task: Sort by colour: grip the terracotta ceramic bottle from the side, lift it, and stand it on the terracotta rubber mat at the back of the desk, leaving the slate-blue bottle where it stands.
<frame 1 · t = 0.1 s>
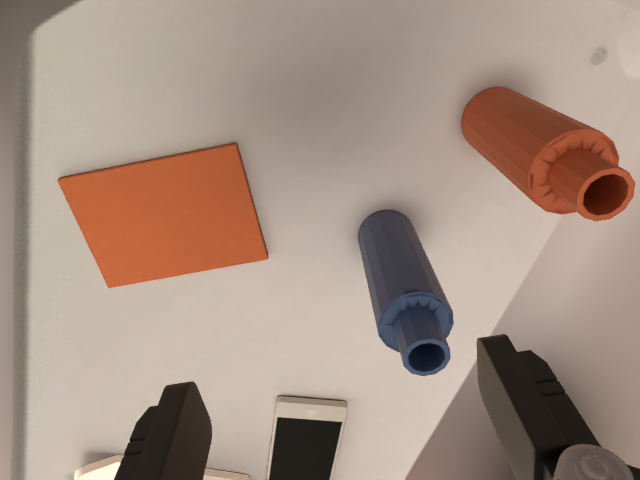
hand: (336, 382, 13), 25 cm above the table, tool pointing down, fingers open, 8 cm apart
terracotta bottle: (492, 119, 35), on the table
smartphone: (303, 449, 51), on the table
blue bottle: (385, 235, 39), on the table
terracotta mat: (169, 218, 38), on the table
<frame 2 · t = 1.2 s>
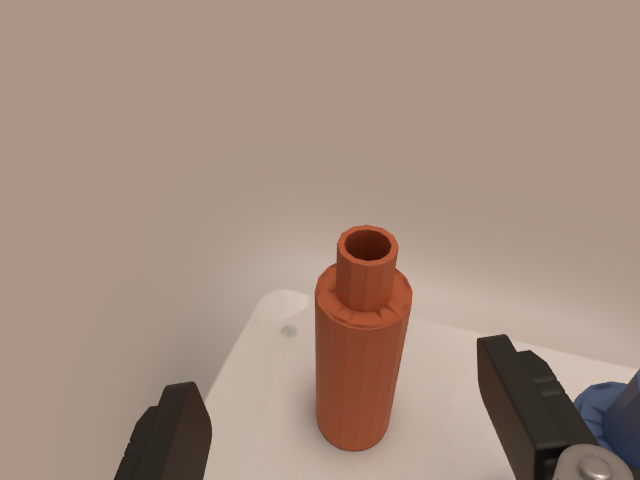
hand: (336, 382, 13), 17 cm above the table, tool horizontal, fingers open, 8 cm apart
terracotta bottle: (352, 415, 31), on the table
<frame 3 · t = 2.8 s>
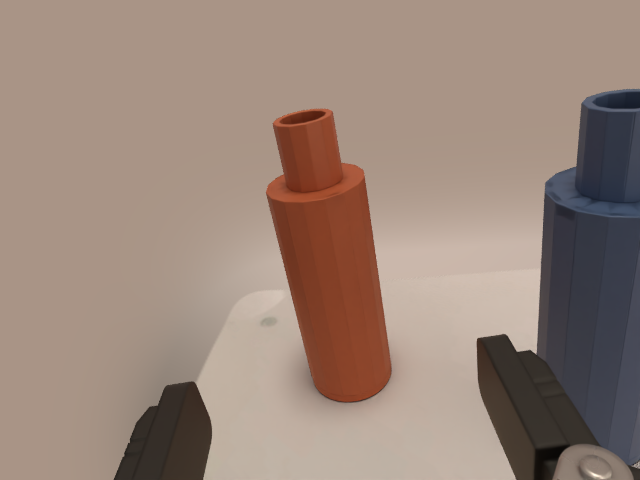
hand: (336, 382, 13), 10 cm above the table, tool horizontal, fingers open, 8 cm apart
terracotta bottle: (351, 371, 28), on the table
blue bottle: (588, 425, 22), on the table
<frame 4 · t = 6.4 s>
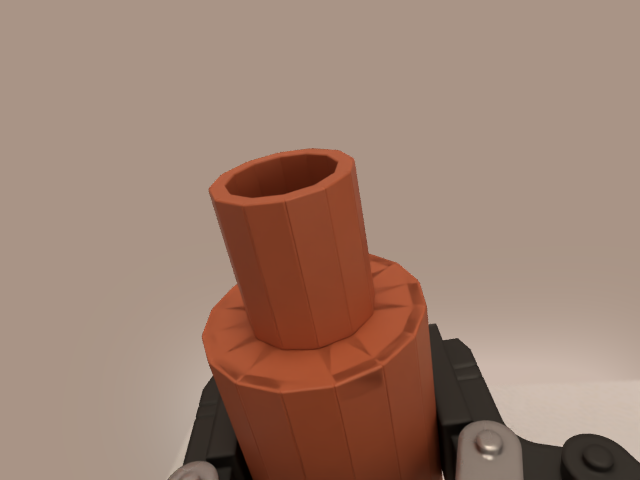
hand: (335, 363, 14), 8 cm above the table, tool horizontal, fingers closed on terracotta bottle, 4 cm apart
when the fingers open (9 cm above the table, at t = 21.5 s): terracotta bottle stays where it is, resting on terracotta mat.
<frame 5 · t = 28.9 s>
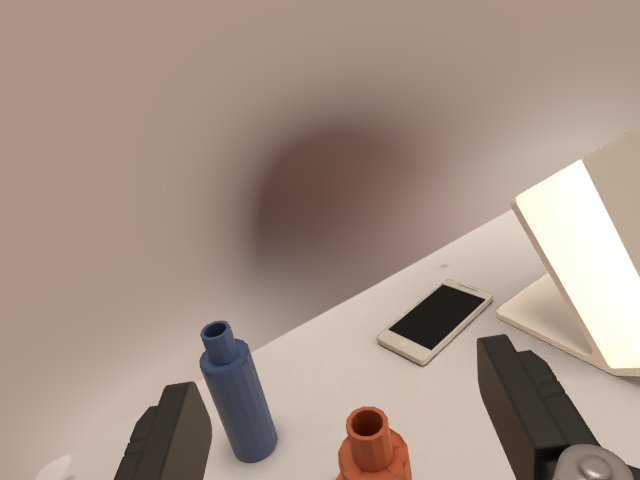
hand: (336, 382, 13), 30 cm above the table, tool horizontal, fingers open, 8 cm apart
smartphone: (437, 321, 61), on the table
blue bottle: (255, 443, 49), on the table
tablet stand: (621, 300, 58), on the table
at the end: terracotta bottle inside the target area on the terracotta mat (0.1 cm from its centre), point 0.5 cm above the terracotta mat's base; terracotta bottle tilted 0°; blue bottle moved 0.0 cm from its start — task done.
